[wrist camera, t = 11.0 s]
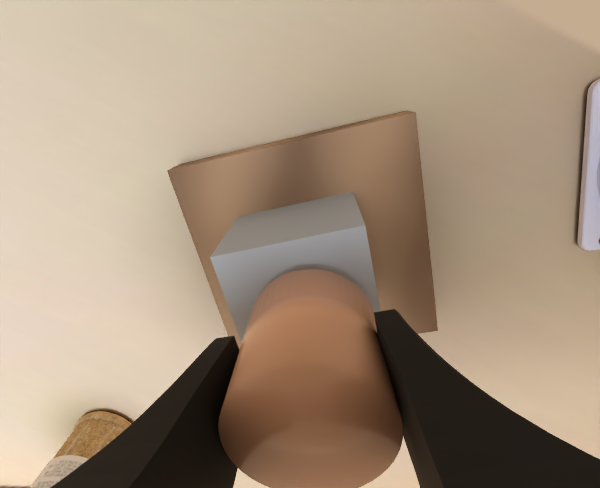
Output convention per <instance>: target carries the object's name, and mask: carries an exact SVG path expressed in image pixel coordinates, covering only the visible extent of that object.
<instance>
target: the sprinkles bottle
mask: <svg viewBox="0 0 600 488" xmlns="http://www.w3.org/2000/svg"><path fill="white" fill-rule="evenodd" d="M130 425H131V423H130V422H129V421H128V420H126V419H124V418H123V417H121V416H119V415H116V414H113V413H110V412H104V411H96V412H91V413H89V414H86V415H84V416H83V417H81V418H80V419H79V420H78V422H77V423H76V425H75V427H74V431H73V432H72V433H71V435H70V436H69V437H68V439H67V440H66V441H65V443H64V444H63V446H62V447H61V449H60V450H59V451H58V452H57V454H56V455H55V457H54V458H53V459H52V460H51V461H50V462H49V463H48V464H47V465H46V467H45V468H44V469H43V471H42V472H41V473H40V475H39V476H38V477H37V479H36V480H35V481H34V483H33V484H32V486H31V487H30V488H50V487H52V486H53V485H55V484H56V483H57V482H59V481H60V480H62V479H63V478H65V477H66V476H67V475H69V474H70V473H71V472H73V471H74V470H75V469H76V468H78V467H79V466H80V465H82V464H83V463H84V462H86V461H87V460H88V459H90V458H91V457H92V456H94V455H95V454H96V453H97V452H99V451H100V450H101V449H103V448H104V447H105V446H106V445H108V444H109V443H110V442H111V441H112V440H114V439H115V438H116V437H117V436H118V435H119V434H121V433H122V432H123V431H124V430H125V429H127V428H128V427H129V426H130Z"/></svg>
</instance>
